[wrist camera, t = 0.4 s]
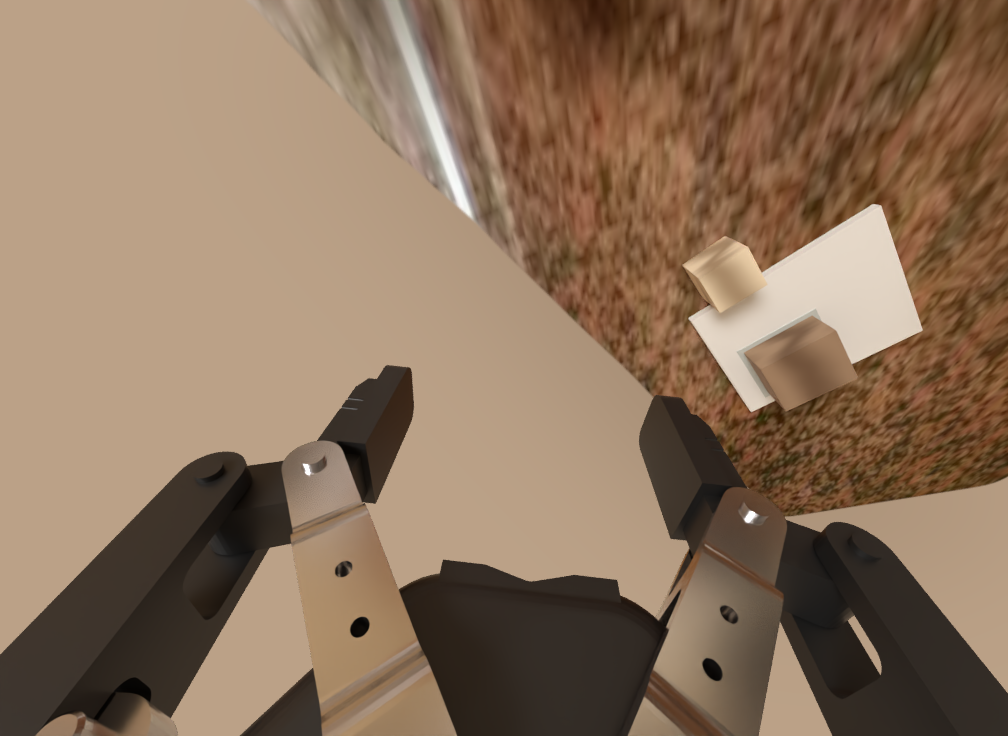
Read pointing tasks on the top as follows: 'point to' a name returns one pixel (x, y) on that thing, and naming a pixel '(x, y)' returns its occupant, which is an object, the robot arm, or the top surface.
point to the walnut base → (802, 363)
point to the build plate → (818, 301)
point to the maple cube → (725, 273)
